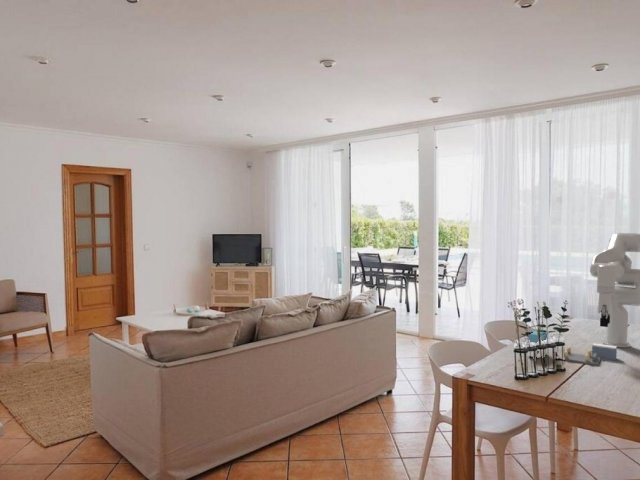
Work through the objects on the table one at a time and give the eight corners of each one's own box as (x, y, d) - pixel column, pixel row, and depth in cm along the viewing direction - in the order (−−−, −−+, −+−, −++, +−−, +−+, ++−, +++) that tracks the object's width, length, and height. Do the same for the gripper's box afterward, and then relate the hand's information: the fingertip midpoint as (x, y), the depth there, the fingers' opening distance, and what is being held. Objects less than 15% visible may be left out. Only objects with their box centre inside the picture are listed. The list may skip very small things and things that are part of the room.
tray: (559, 353, 238) (559, 345, 238) (600, 359, 228) (600, 351, 227) (555, 359, 228) (555, 350, 228) (597, 365, 218) (598, 357, 218)
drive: (592, 354, 236) (593, 343, 235) (616, 358, 230) (616, 346, 229) (591, 356, 232) (592, 344, 232) (615, 360, 226) (616, 348, 226)
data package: (537, 359, 228) (537, 334, 228) (527, 357, 232) (528, 333, 231) (547, 354, 236) (547, 330, 236) (538, 352, 240) (538, 329, 239)
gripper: (599, 287, 238) (598, 320, 239) (595, 291, 224) (593, 326, 225) (616, 288, 234) (615, 322, 235) (613, 292, 220) (612, 329, 221)
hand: (604, 324), depth 230 cm, fingers open, 9 cm apart
